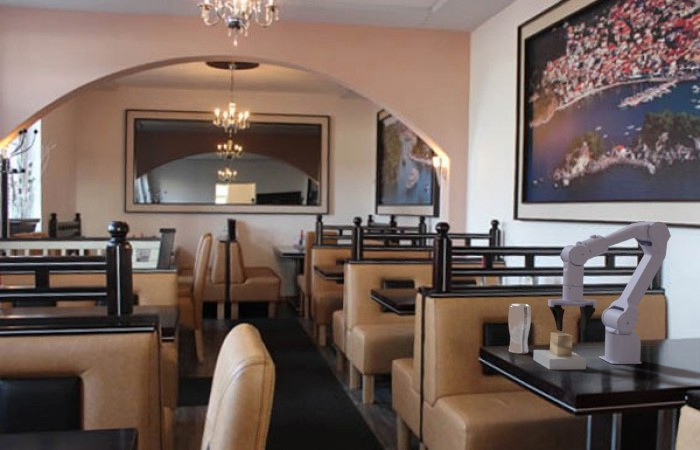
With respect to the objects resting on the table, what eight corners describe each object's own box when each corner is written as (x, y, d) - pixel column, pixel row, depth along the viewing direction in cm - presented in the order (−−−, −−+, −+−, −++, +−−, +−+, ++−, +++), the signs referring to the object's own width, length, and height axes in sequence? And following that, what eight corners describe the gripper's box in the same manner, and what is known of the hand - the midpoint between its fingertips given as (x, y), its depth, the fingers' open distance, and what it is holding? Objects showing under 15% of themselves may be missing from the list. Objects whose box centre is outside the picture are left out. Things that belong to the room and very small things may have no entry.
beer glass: (530, 354, 191) (532, 307, 190) (507, 353, 192) (509, 305, 192) (528, 349, 197) (530, 303, 197) (506, 348, 199) (508, 302, 198)
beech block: (564, 352, 182) (564, 332, 182) (571, 356, 177) (572, 335, 177) (549, 352, 181) (550, 332, 181) (557, 356, 177) (558, 335, 177)
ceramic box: (567, 361, 186) (568, 349, 186) (585, 370, 175) (586, 358, 175) (533, 361, 184) (533, 349, 184) (549, 371, 173) (549, 359, 173)
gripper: (556, 286, 178) (554, 333, 178) (602, 287, 179) (601, 333, 180) (545, 283, 185) (544, 328, 185) (590, 284, 186) (589, 328, 187)
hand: (571, 330), depth 183 cm, fingers open, 7 cm apart
